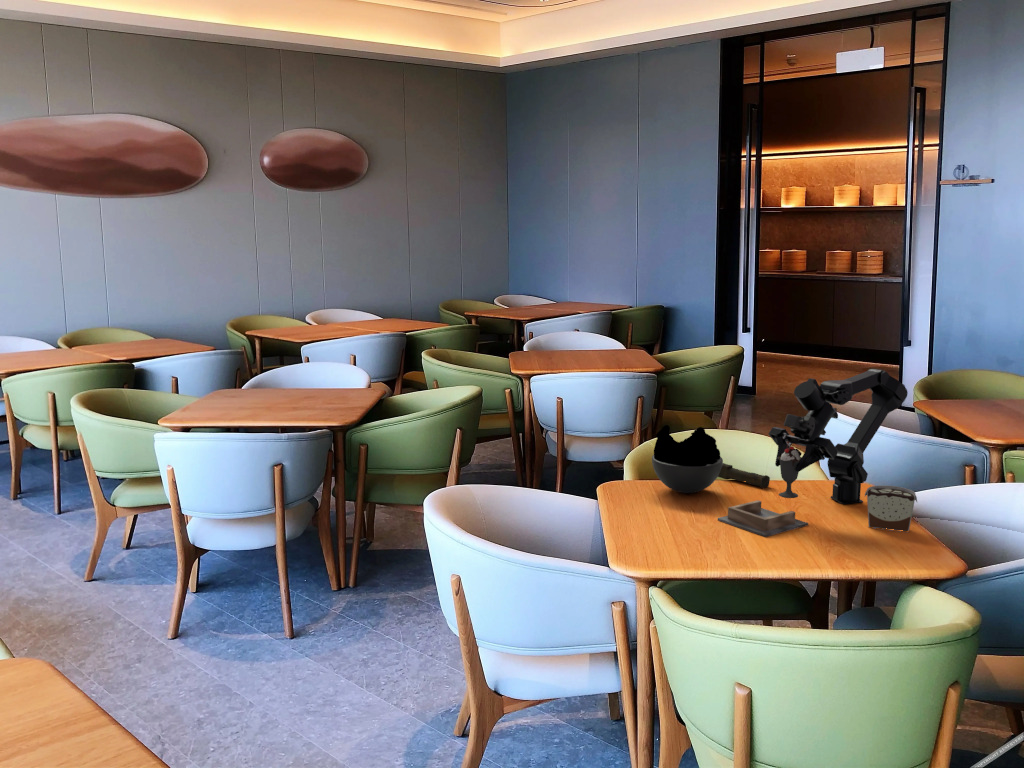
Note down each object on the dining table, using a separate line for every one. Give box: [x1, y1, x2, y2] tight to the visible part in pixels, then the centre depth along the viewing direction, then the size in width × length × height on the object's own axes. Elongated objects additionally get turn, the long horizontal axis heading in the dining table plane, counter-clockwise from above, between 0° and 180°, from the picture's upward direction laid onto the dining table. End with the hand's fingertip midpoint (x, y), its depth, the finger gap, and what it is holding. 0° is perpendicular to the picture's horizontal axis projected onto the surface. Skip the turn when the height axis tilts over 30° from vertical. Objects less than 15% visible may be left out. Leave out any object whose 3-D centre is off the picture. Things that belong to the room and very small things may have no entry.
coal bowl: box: [651, 424, 724, 494], centre depth 267 cm, size 20×20×19 cm
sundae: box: [776, 442, 802, 499], centre depth 244 cm, size 7×7×15 cm
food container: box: [864, 484, 918, 532], centre depth 237 cm, size 12×6×10 cm, turn 65°
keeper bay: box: [717, 499, 809, 538], centre depth 241 cm, size 16×16×4 cm
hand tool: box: [717, 462, 771, 490], centre depth 279 cm, size 19×4×5 cm, turn 38°
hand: (786, 468), depth 243 cm, fingers closed on sundae, 6 cm apart
